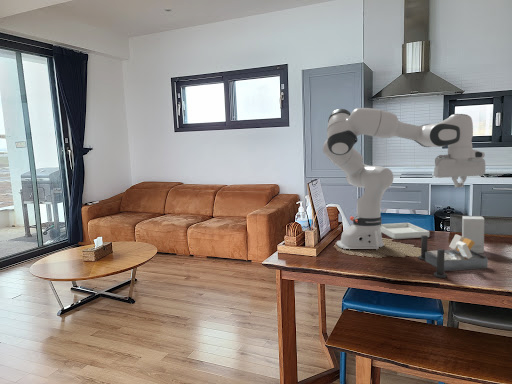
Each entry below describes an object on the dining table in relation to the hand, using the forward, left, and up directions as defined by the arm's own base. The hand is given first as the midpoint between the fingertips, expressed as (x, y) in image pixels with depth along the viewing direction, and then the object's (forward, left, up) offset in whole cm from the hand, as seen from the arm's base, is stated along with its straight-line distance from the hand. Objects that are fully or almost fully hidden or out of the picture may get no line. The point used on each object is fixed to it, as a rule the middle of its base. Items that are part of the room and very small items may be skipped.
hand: (458, 187), depth 153 cm
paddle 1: (-4, -3, -26) cm, 27 cm away
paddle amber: (-4, -8, -26) cm, 28 cm away
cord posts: (-16, -9, -30) cm, 36 cm away
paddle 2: (-4, -13, -26) cm, 30 cm away
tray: (-2, +45, -30) cm, 54 cm away
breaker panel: (-6, -8, -30) cm, 32 cm away
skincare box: (+12, +7, -31) cm, 34 cm away
